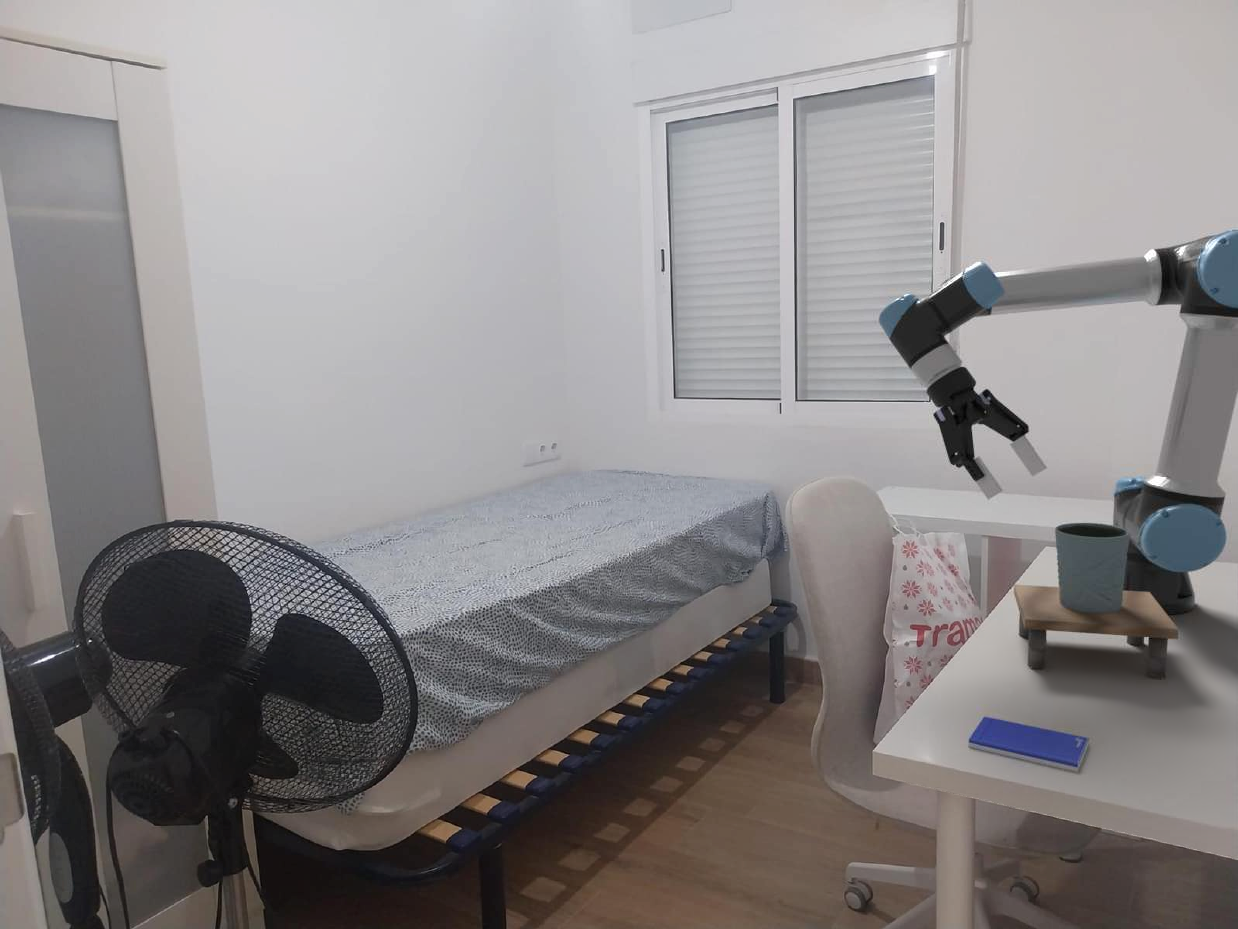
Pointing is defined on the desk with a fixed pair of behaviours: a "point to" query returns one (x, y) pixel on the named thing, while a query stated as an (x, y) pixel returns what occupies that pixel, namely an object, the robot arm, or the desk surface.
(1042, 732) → the hard drive
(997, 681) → the desk surface
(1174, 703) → the desk surface
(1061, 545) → the teal plant pot
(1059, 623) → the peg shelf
